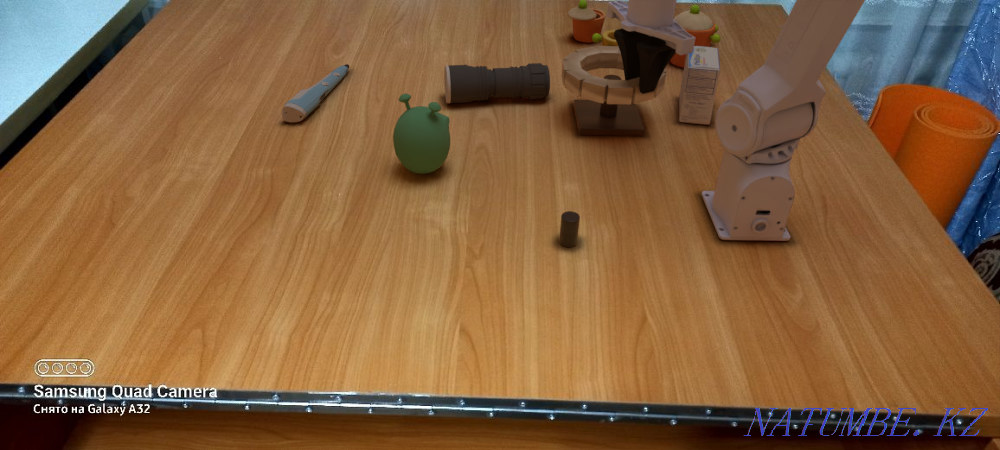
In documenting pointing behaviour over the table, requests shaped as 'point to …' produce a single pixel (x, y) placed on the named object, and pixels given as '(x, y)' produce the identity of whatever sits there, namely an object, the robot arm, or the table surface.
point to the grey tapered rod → (312, 96)
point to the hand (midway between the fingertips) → (639, 87)
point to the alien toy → (421, 137)
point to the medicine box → (699, 85)
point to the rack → (608, 117)
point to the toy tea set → (592, 21)
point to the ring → (600, 87)
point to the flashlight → (495, 82)
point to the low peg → (569, 229)
